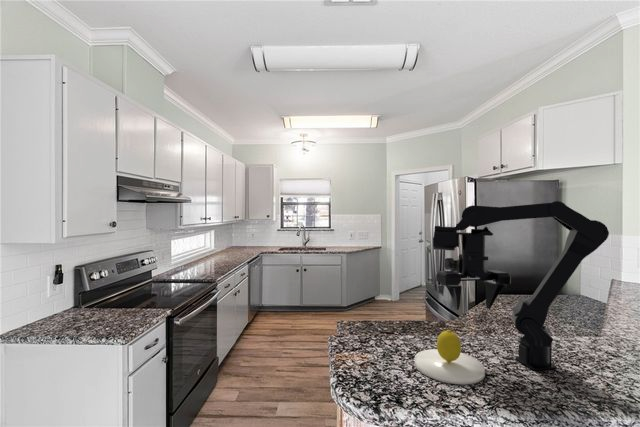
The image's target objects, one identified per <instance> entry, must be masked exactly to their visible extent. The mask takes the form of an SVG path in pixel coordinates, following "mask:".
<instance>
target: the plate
mask: <svg viewBox="0 0 640 427" xmlns="http://www.w3.org/2000/svg"><path fill="white" fill-rule="evenodd" d="M414 367H415V368H416V369H417V370H418V371H419V372H420V373H421V374H423V375H424V376H427V377H428V378H431V379H433V380H436V381H439V382H442V383H447V384H453V385H473V384H476V383H477V384H478V383H479V382H481V381H482V380H484V379H485V377H486V374H485V373H486V368H485V365H483V363H482V362H480V361H479V360H478V359H477V358H474V357H473V356H470V355H468V354H466V353H463V352H461V353H460V356H459V357H458V359H456V360H454V361H451V362H450V363H448V362H447V361H446V360H444V359H443V358H442V357H441V356H440V355H439V353H438V350H437V348H433V349H432V348H431V349H424V350H422V351H419V352H417V353H416V354H415V355H414Z"/></svg>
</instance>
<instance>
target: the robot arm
mask: <svg viewBox="0 0 640 427" xmlns="http://www.w3.org/2000/svg"><path fill="white" fill-rule="evenodd" d="M541 218H544V219H545V218H552V219H554V220H555V221H556V222H557V223H559V224H560V225H561V226H562V227H563V228H565V229H567V230H568V234H567V237H566V239H565V244H564V248H563V250H562V252H561V253H560V254H559V256H558V257H557V259H556V260H555V262H554V263H553V265H552V267H550V268H549V270H548V271H547V274H546V275H545V276H544V277H543V279H542V281H541V282H540V284H539V285H538V286H537V288H536V289H535V291H534V292H533V294H532V295H531V296H530V297H528V298H527V299H524V298H523V297H521V296H520V297H519V299H518V301H517V303H516V305H515V306H513V307H512V308H511V311H512V314H511V315H512V316H511V317H512V321H513V323H514V326H515V328H516V330H517V331H518V332H519V333H520V334H521V335H522V336H521V337H519V343H518V356H515V360H517V361H518V362H520V363H522V364H524V365H525V366H526V367H528V368H529V369H531V370H533V371H539V370H541V371H543V370H554V369H555V370H556V369H558V366H557V365H555V364H553V363H552V362H553V360H552V356H553V355H552V354H553V353H552V349H553V347H552V345H553V344H552V343H553V342H554V339H553V337H552V336H551V334H550V332H549V331H548V329H547V327H546V326H544V325H545V323H546V320H547V317H548V313H549V309H550V307H551V305H552V304H553V302H554V301H555V299H556V298H557V296H558V295H559V294H560V292H561V291H562V290H563V288H565V285H566V284H567V283H568V281H569V280H570V278H571V277H572V276H573V274H574V272H575V271H576V270H577V268H578V267H579V266H580V264H581V263H582V262H583V260H584V259H585V258H586V257H589V255H591V254H592V253H593V252H594V251H596V250H598V249H599V248H600V247H601V246H602V244H603V243H605V241H607V239H608V238H609V236H610V232H609V230H608V227H607V225H606V224H605V223H603V222H602V221H600V220H594V219H589V218H588V217H587V216H585V215H583V214H581V213H580V212H578V211H576V210H574V209H572V208H571V207H570V206H568V205H567V204H566V203H564V202H562V201H559V200H554V201H550V202H546V203H544V202H543V203H533V204H532V203H531V204H524V205H523V204H522V205H511V206H510V205H509V206H490V205H489V206H487V205H469V206H467V207H465V208H464V210H463V211H462V214H461V219H460V221H459V222H458V223H456V224H455V226H441V225H435V226H434V232H433V237H432V246H433V250H436V251H437V250H439V251H452V252H453V251H455V250H456V248H460V235H461V253H459V254H458V258H457V260H456V259H454V258H453V257H447V258H444V269H445V270H439V271H437V273H436V276H435V280H436V282H438V283H440V284H441V285H442V286H445V287H446V289H447V290H448V293H449V295H450V298H451V300H452V303H453V306H454V309H455V310H457V311H459V310H460V306H461V296H462V288H463V287H462V285H460V284H461V282H475V281H476V282H480V281H483V285H484V287H485V305H486V307H485V308H486V309H488V310H490V309H491V308H492V306H493V305H494V303H495V301H496V300H497V298H498V296H499V295H500V293H501V292H502V290H503V289H504V288H507V285H511V283H512V279H511V278H512V277H511V275H510V274H509V273H508V272H506V271H501V270H498V269H487V270H486V261H489V256H487V255H486V236H488V237H489V236H491V237H492V236H494V233H493V232H491V230H489V228H488V226H486V225H490V224H494V223H497V222H502V221H504V222H505V221H517V220H528V219H529V220H530V219H531V220H532V219H541ZM482 226H484V228H477V227H482ZM470 227H471V228H470ZM472 227H473V228H472ZM468 228H470V232H466V231H465V232H463V231H464V230H466V229H468ZM459 231H460V232H459ZM461 231H462V232H461Z"/></svg>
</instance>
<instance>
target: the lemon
mask: <svg viewBox="0 0 640 427" xmlns="http://www.w3.org/2000/svg"><path fill="white" fill-rule="evenodd" d="M461 344H462V343H461V340H460V338H459V336H458V335H457V334H456V333H455V332H453V331H452V330H450V329H447V330H444V331H442V332H441V333H440V334H439V335H438V337H437V342H436V349H437V350H438V353H439V355H440V356H441V357H442V358H443V359H444V360H446V361H447V362H448V363H450V362H451V361H454V360H456V359H458V357H459V356H460V353H462V345H461Z"/></svg>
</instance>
